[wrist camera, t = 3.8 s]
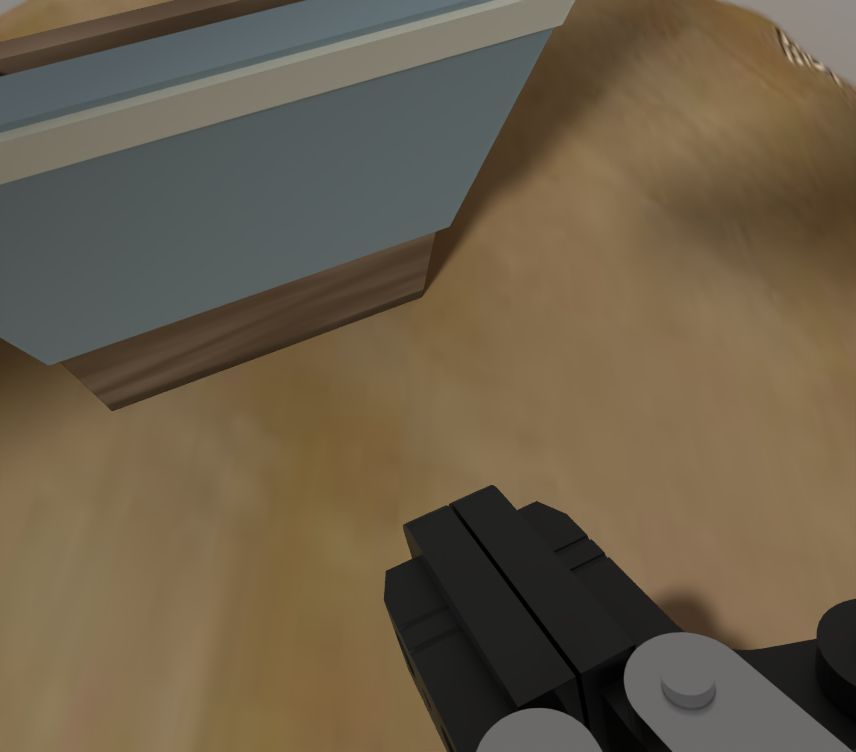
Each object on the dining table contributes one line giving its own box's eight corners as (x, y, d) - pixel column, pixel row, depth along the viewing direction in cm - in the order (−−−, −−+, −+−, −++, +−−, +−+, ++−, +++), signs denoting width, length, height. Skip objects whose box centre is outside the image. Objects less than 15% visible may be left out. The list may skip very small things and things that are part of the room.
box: (421, 296, 41) (440, 211, 33) (112, 411, 37) (43, 346, 29) (319, 89, 46) (312, -33, 37) (31, 171, 42) (-49, 53, 33)
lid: (441, 207, 33) (451, 230, 33) (39, 343, 29) (50, 370, 28) (567, -66, 17) (587, -24, 17) (-267, 144, 13) (-248, 201, 13)
